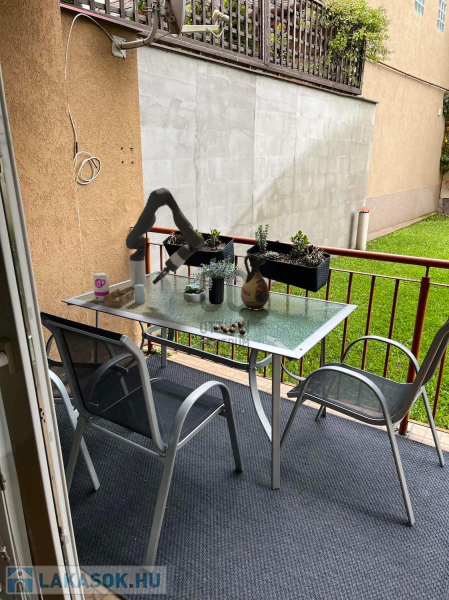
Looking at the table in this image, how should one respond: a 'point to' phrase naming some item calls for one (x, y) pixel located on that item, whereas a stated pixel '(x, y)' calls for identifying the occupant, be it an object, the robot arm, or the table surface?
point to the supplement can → (101, 285)
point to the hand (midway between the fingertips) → (155, 281)
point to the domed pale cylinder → (139, 293)
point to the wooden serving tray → (118, 298)
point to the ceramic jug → (254, 285)
